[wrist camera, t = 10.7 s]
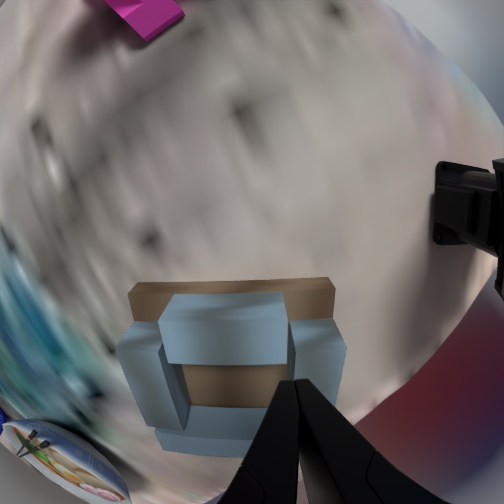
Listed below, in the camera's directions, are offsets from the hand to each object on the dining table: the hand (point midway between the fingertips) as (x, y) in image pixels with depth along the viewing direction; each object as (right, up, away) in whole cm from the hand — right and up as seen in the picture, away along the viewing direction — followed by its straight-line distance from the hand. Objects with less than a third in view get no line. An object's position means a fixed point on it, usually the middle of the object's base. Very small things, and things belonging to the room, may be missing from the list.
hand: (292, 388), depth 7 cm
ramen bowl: (-29, -26, +21) cm, 44 cm away
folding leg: (-2, -10, +13) cm, 17 cm away
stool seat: (-3, -5, +14) cm, 15 cm away
